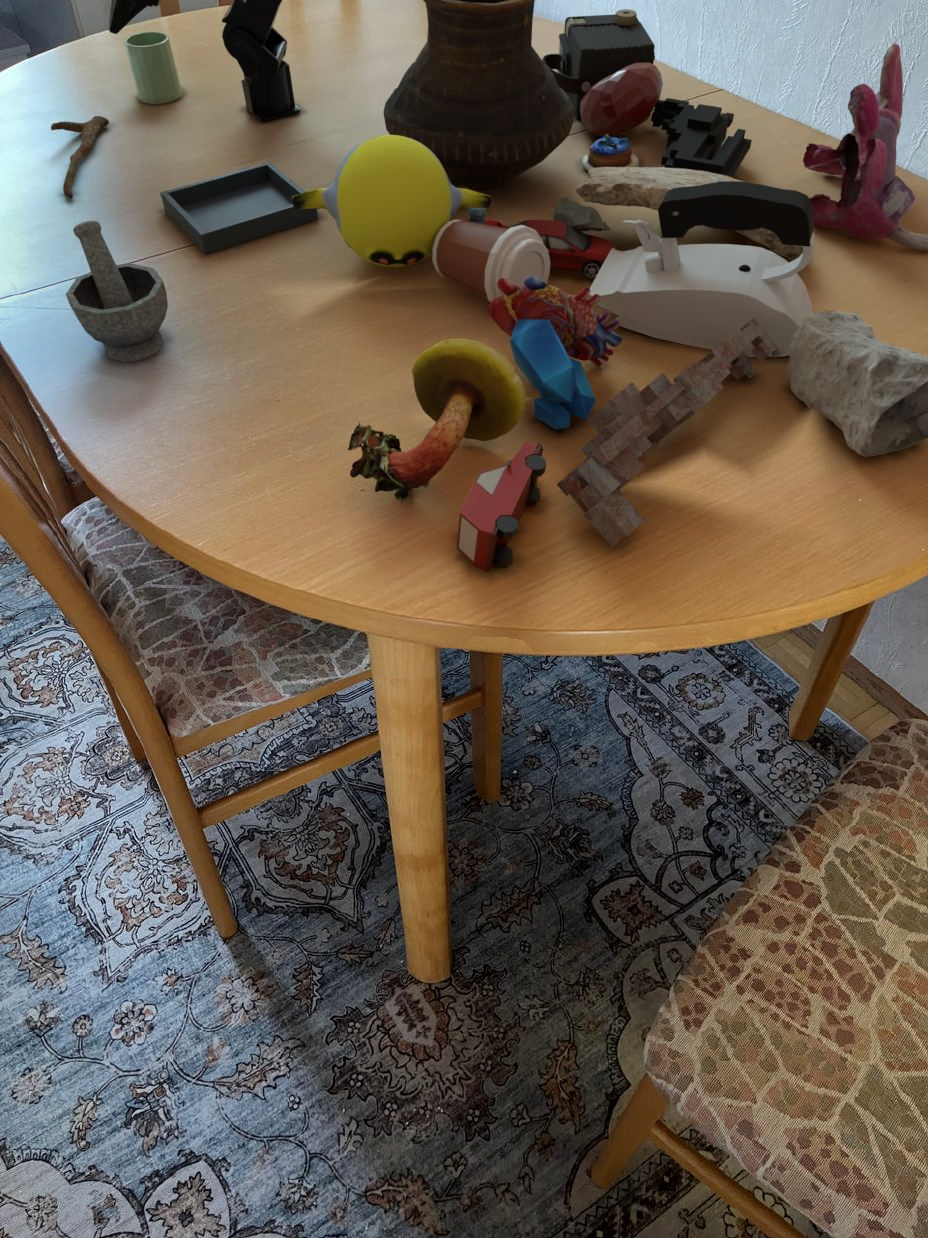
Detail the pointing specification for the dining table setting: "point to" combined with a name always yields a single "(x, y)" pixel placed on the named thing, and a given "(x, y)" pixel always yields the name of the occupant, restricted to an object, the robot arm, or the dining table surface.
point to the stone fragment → (662, 194)
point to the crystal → (551, 373)
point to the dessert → (610, 154)
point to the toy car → (569, 246)
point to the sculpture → (650, 429)
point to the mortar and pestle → (117, 300)
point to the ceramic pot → (481, 93)
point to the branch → (88, 139)
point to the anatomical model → (558, 317)
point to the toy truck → (499, 508)
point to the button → (479, 216)
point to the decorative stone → (860, 382)
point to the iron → (713, 268)
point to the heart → (621, 100)
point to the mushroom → (444, 414)
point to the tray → (236, 207)
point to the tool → (699, 137)
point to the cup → (153, 67)
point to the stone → (578, 216)
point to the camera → (597, 51)
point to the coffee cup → (489, 256)
